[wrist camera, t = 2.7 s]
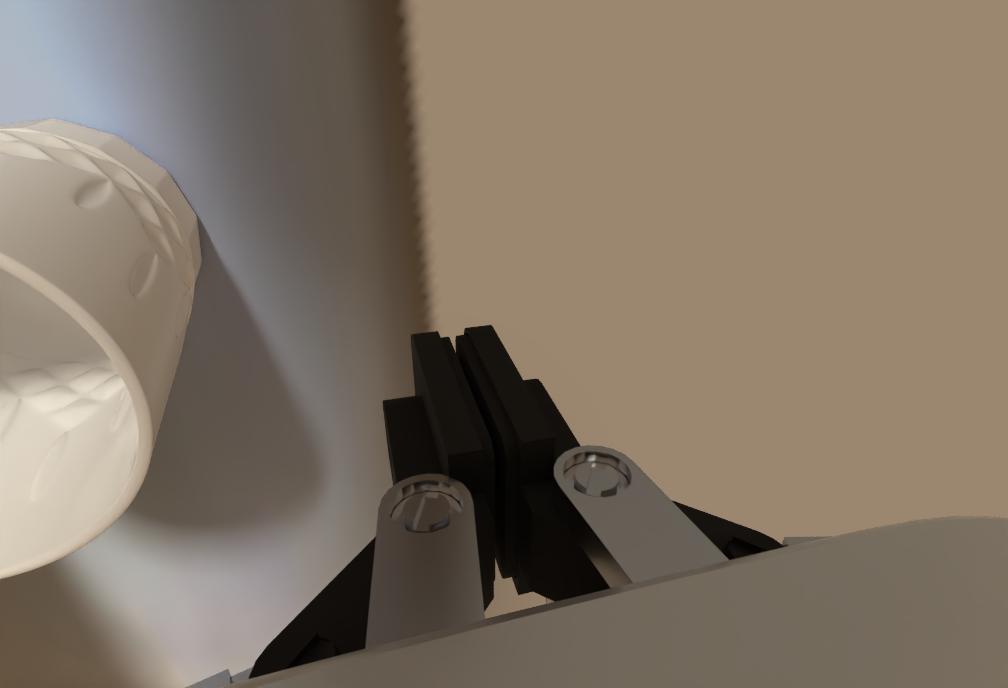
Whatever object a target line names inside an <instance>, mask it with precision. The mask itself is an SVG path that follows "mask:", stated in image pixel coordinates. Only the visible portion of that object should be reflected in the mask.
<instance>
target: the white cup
mask: <svg viewBox="0 0 1008 688" xmlns="http://www.w3.org/2000/svg"><path fill="white" fill-rule="evenodd" d="M201 264H202V256H201V247H200V239H199V230H198V221H197V216H196V214H195V213H194V211H193V209H192V208H191V206H190V205H189V203H188V202H187V200H186V199H185V197H184V196H183V194H182V192H181V191H180V189H179V188H178V186H177V185H176V183H175V182H174V180H173V179H172V177H171V175H170V174H169V172H168V171H166V170H165V169H164V168H162V167H161V166H160V165H158V164H157V163H155V162H154V161H153V160H151V159H150V158H148V157H147V156H146V155H144V154H143V153H141V152H140V151H139V150H137V149H136V148H134V147H133V146H132V145H130V144H129V143H127V142H126V141H125V140H123V139H122V138H120V137H119V136H117V135H113V134H110V133H106V132H103V131H99V130H96V129H92V128H88V127H85V126H81V125H78V124H74V123H71V122H67V121H63V120H60V119H56V118H51V119H43V120H34V121H26V122H18V123H9V124H1V125H0V579H3V578H7V577H11V576H15V575H18V574H22V573H25V572H28V571H31V570H34V569H37V568H39V567H42V566H45V565H47V564H50V563H52V562H54V561H57V560H59V559H61V558H63V557H65V556H67V555H69V554H71V553H73V552H75V551H76V550H78V549H80V548H82V547H83V546H85V545H86V544H88V543H89V542H91V541H92V540H94V539H95V538H97V537H98V536H99V535H101V534H102V533H103V532H104V531H105V530H107V529H108V528H109V527H110V526H111V525H112V524H113V523H114V522H115V521H116V520H117V519H118V518H119V517H120V516H121V515H122V514H123V513H124V512H125V510H126V509H127V508H128V507H129V505H130V504H131V502H132V501H133V500H134V498H135V496H136V495H137V493H138V491H139V490H140V488H141V486H142V484H143V481H144V479H145V477H146V474H147V471H148V468H149V465H150V461H151V457H152V454H153V450H154V446H155V443H156V439H157V436H158V432H159V429H160V425H161V422H162V418H163V415H164V411H165V408H166V405H167V401H168V398H169V394H170V391H171V387H172V384H173V381H174V377H175V374H176V370H177V367H178V363H179V360H180V356H181V352H182V349H183V344H184V340H185V335H186V330H187V326H188V322H189V319H190V315H191V311H192V306H193V297H194V287H195V282H196V279H197V276H198V273H199V270H200V267H201Z"/></svg>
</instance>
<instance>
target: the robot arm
mask: <svg viewBox="0 0 1008 688" xmlns="http://www.w3.org/2000/svg"><path fill="white" fill-rule="evenodd" d="M411 346H412V359H413V371H414V383H415V396H412V397H405V398H398V399H391V400H384V401H383V410H384V419H385V428H386V436H387V444H388V452H389V460H390V467H391V474H392V480H393V487H391V488H390V489H389V490H388V491H387V493H386V494H385V495H384V496H383V498H382V500H381V503H380V506H379V510H378V521H377V531H376V537H375V538H374V539H373V540H372V541H371V542H370V543H369V544H368V545H367V546H366V547H365V548H364V549H363V550H362V551H361V552H360V553H359V554H358V555H357V556H356V557H355V558H354V559H353V560H352V561H351V562H350V563H349V564H348V565H347V566H346V567H345V568H344V569H343V570H342V571H341V572H340V573H339V574H338V575H337V576H336V577H335V578H334V579H333V580H332V581H331V582H330V583H329V584H328V585H327V586H326V587H325V588H324V589H323V590H322V591H321V592H320V593H319V594H318V595H317V596H316V597H315V598H314V599H313V600H312V601H311V602H310V603H309V604H308V605H307V606H306V607H305V608H304V609H303V610H302V611H301V612H300V613H299V614H298V615H297V617H296V618H295V619H294V620H293V621H292V622H291V623H290V624H289V625H288V626H287V627H286V628H285V629H284V630H283V631H282V632H281V633H280V634H279V635H278V636H277V637H276V638H275V639H274V640H273V641H272V642H271V643H270V644H269V645H268V646H267V647H266V649H265V650H264V651H263V652H262V654H261V655H260V656H259V657H258V659H257V660H256V662H255V664H254V667H252V668H249V669H247V670H245V671H243V672H240V673H238V674H236V675H234V676H231V675H230V672H229V670H228V669H227V670H225V671H222V672H220V673H218V674H216V675H213V676H211V677H209V678H206V679H204V680H202V681H200V682H197V683H195V684H193V685H190V686H188V687H186V688H1008V518H1000V517H988V516H951V517H941V518H932V519H923V520H922V519H921V520H914V521H908V522H904V523H898V524H892V525H887V526H881V527H875V528H870V529H865V530H860V531H856V532H852V533H847V534H842V535H838V536H830V537H784V539H783V542H782V544H780V543H779V542H777V541H776V540H774V539H773V538H771V537H769V536H767V535H765V534H762V533H760V532H758V531H756V530H752V529H750V528H747V527H744V526H742V525H739V524H736V523H733V522H731V521H728V520H725V519H722V518H719V517H717V516H714V515H711V514H708V513H705V512H703V511H700V510H697V509H694V508H692V507H688V506H686V505H683V504H680V503H678V502H675V501H672V500H670V499H669V498H668V497H667V496H666V495H665V494H664V492H662V490H661V489H660V488H659V487H658V486H657V485H656V484H655V483H654V482H653V481H652V480H651V479H650V478H649V477H648V476H647V475H646V474H645V473H644V472H643V471H642V470H641V469H640V468H639V467H638V466H637V465H636V464H635V463H634V462H633V461H632V460H631V459H629V458H628V457H627V456H626V455H624V454H622V453H620V452H618V451H616V450H613V449H611V448H606V447H602V446H580V444H579V443H578V441H577V440H576V438H575V436H574V435H573V433H572V432H571V430H570V428H569V427H568V425H567V423H566V422H565V420H564V418H563V417H562V415H561V414H560V412H559V410H558V409H557V407H556V406H555V404H554V402H553V401H552V399H551V398H550V396H549V394H548V393H547V391H546V389H545V388H544V386H543V385H542V383H541V382H540V381H539V379H530V380H523V379H522V377H521V376H520V374H519V372H518V370H517V368H516V367H515V365H514V363H513V361H512V360H511V358H510V356H509V354H508V353H507V351H506V349H505V347H504V346H503V344H502V342H501V341H500V339H499V337H498V335H497V333H496V332H495V330H494V328H493V327H492V325H487V326H478V327H471V328H465V330H464V335H460V336H456V353H455V350H454V348H453V345H452V343H451V341H450V338H449V337H443V338H440V335H439V333H438V331H436V332H428V333H419V334H411ZM495 558H496V561H497V564H498V568H499V571H500V573H501V576H502V578H504V579H505V578H509V577H512V578H513V582H514V584H515V587H516V590H517V593H518V595H520V594H524V593H529V592H535V593H538V594H540V595H542V596H544V597H546V604H545V605H541V606H537V607H532V608H529V609H524V610H520V611H516V612H512V613H508V614H504V615H500V616H496V617H492V618H487V619H485V615H484V612H485V610H486V608H487V607H488V606H489V604H490V603H491V601H492V600H493V598H494V588H493V587H494V581H495Z"/></svg>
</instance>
